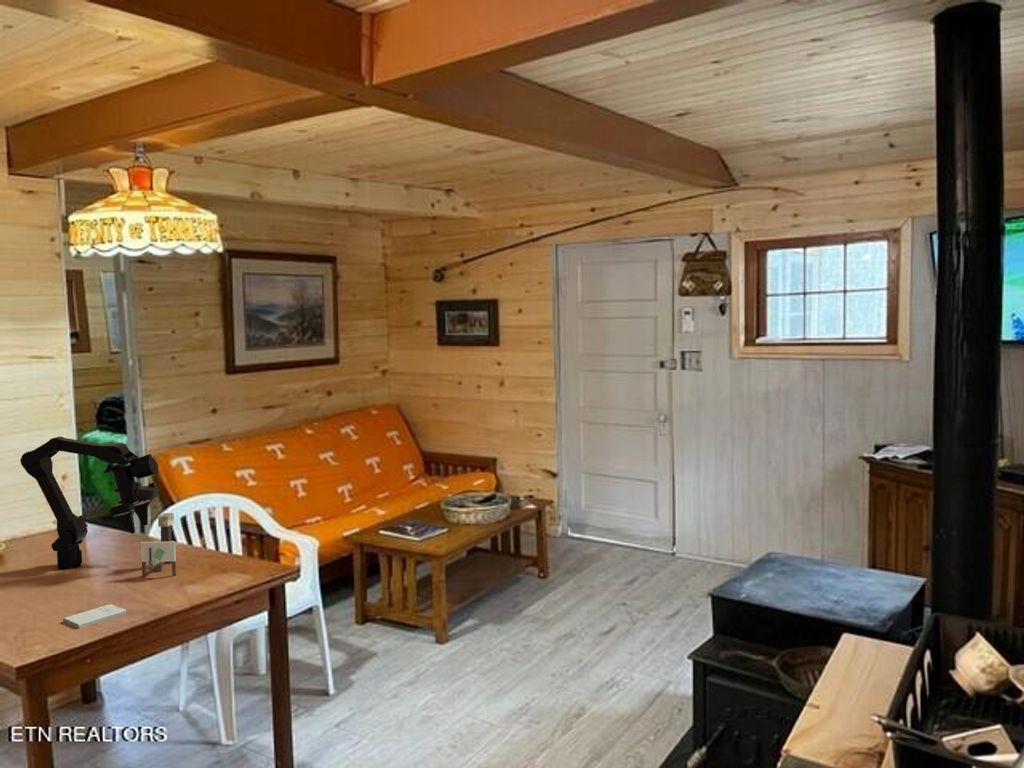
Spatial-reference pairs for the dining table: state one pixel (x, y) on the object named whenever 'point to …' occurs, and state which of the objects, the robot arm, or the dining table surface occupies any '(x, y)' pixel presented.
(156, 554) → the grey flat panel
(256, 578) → the dining table surface
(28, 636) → the dining table surface
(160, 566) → the peg stand
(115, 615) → the external hard drive
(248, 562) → the dining table surface
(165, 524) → the block-topped post frame
